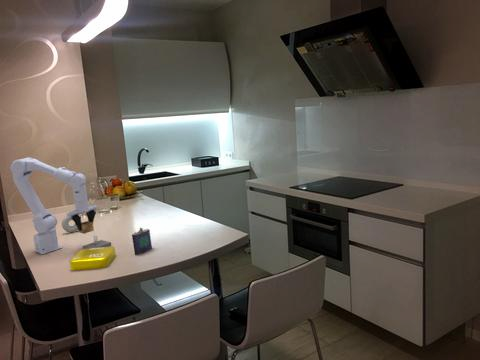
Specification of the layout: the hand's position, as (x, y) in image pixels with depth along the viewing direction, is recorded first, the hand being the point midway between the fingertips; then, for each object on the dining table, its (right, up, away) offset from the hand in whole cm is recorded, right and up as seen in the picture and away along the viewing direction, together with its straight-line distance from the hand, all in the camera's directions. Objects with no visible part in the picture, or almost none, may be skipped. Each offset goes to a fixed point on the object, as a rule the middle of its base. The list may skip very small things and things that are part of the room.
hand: (85, 228), depth 189 cm
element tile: (+11, -12, -19) cm, 25 cm away
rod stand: (+5, -9, 0) cm, 10 cm away
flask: (+29, -9, -10) cm, 32 cm away
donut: (-17, -6, +29) cm, 34 cm away
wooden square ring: (0, -1, 0) cm, 1 cm away
